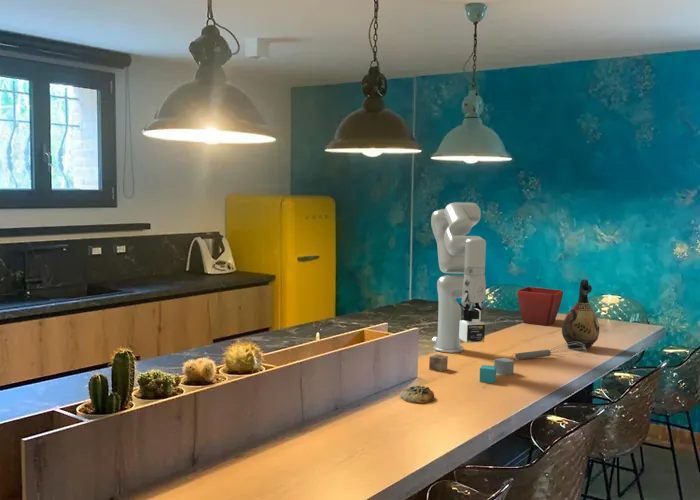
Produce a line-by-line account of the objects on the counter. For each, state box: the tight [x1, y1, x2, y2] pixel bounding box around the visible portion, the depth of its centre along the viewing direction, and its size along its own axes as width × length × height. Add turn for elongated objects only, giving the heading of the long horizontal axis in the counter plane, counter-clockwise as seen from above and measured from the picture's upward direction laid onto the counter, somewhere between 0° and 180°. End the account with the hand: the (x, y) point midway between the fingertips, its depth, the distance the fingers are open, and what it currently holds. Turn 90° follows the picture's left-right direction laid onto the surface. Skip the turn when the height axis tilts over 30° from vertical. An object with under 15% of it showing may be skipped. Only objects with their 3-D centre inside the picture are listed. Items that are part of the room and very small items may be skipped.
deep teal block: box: [479, 364, 497, 384], centre depth 243 cm, size 5×5×5 cm
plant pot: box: [516, 286, 565, 326], centre depth 352 cm, size 19×19×17 cm
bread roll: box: [399, 385, 435, 404], centre depth 221 cm, size 11×11×5 cm
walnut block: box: [428, 354, 449, 373], centre depth 257 cm, size 5×5×5 cm
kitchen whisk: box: [511, 342, 588, 361], centre depth 279 cm, size 6×34×6 cm, turn 106°
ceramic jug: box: [561, 278, 600, 352], centre depth 296 cm, size 17×15×30 cm
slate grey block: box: [493, 357, 515, 377], centre depth 254 cm, size 5×5×5 cm
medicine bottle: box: [459, 307, 486, 344], centre depth 254 cm, size 7×7×12 cm
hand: (472, 319), depth 254 cm, fingers closed on medicine bottle, 6 cm apart
